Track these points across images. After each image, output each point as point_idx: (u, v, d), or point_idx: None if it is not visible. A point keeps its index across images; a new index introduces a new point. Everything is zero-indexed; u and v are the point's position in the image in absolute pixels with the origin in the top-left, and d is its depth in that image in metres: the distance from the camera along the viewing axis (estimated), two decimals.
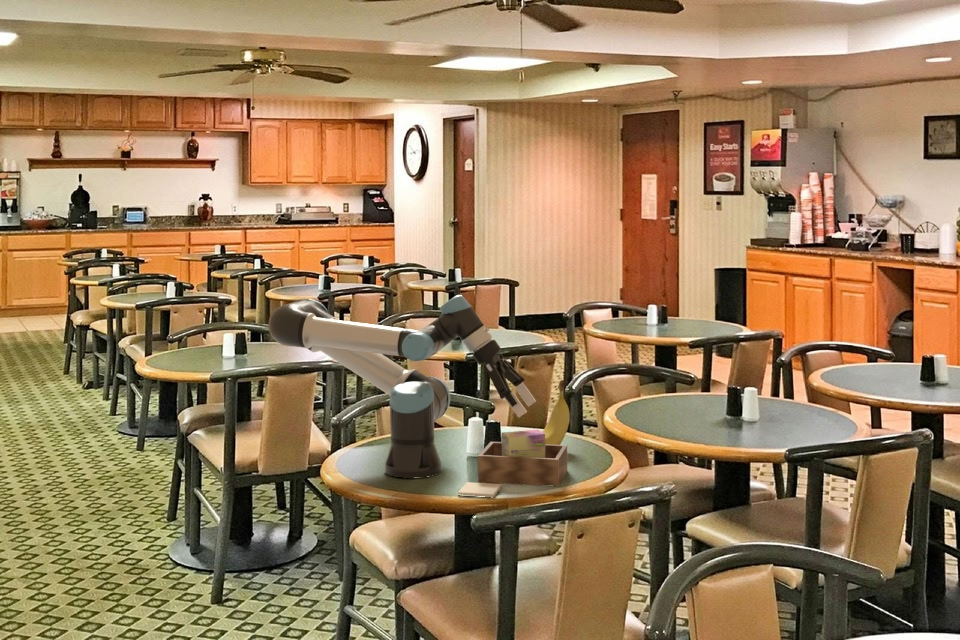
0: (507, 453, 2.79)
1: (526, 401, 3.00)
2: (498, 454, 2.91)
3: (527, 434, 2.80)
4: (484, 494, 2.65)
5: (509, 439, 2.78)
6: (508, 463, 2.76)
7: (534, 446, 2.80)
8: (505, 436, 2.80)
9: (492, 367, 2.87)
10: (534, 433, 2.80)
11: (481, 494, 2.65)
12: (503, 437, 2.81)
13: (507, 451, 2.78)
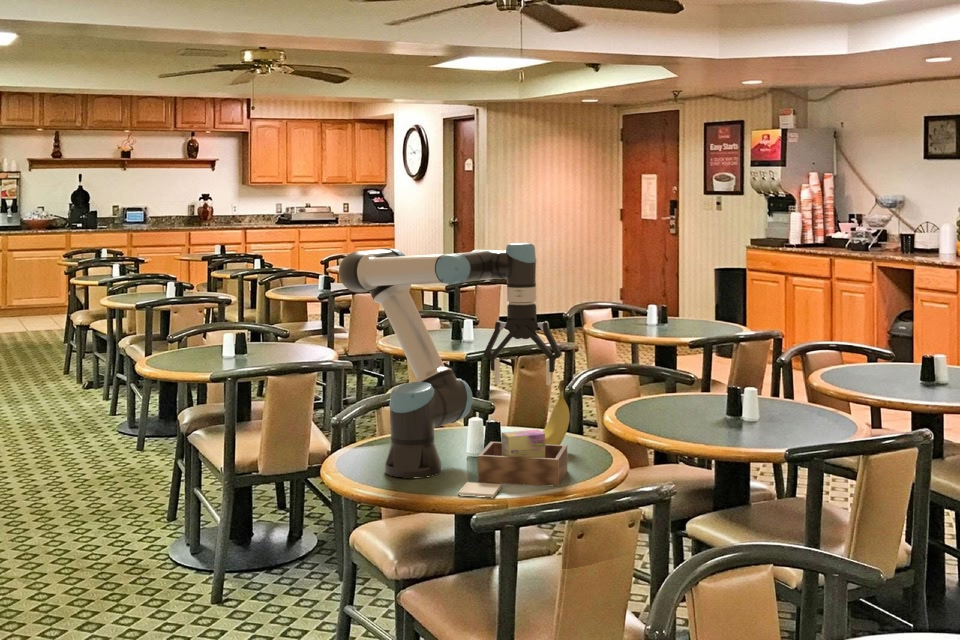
0: (507, 453, 2.79)
1: None
2: (498, 454, 2.91)
3: (527, 434, 2.80)
4: (484, 494, 2.65)
5: (509, 439, 2.78)
6: (508, 463, 2.76)
7: (534, 446, 2.80)
8: (505, 436, 2.80)
9: None
10: (534, 433, 2.80)
11: (481, 494, 2.65)
12: (503, 437, 2.81)
13: (507, 451, 2.78)
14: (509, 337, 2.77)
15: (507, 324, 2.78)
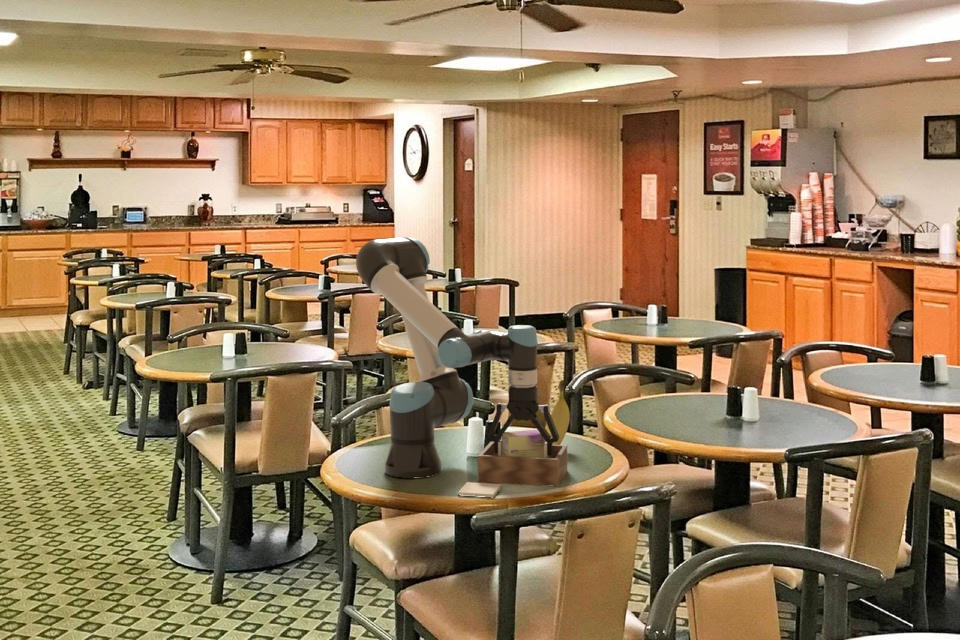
0: (507, 453, 2.79)
1: None
2: None
3: (527, 434, 2.80)
4: (484, 494, 2.65)
5: (509, 439, 2.78)
6: (508, 463, 2.76)
7: (534, 445, 2.80)
8: (505, 436, 2.80)
9: None
10: (534, 433, 2.80)
11: (481, 494, 2.65)
12: (503, 437, 2.81)
13: (507, 451, 2.78)
14: (511, 419, 2.80)
15: (508, 406, 2.80)
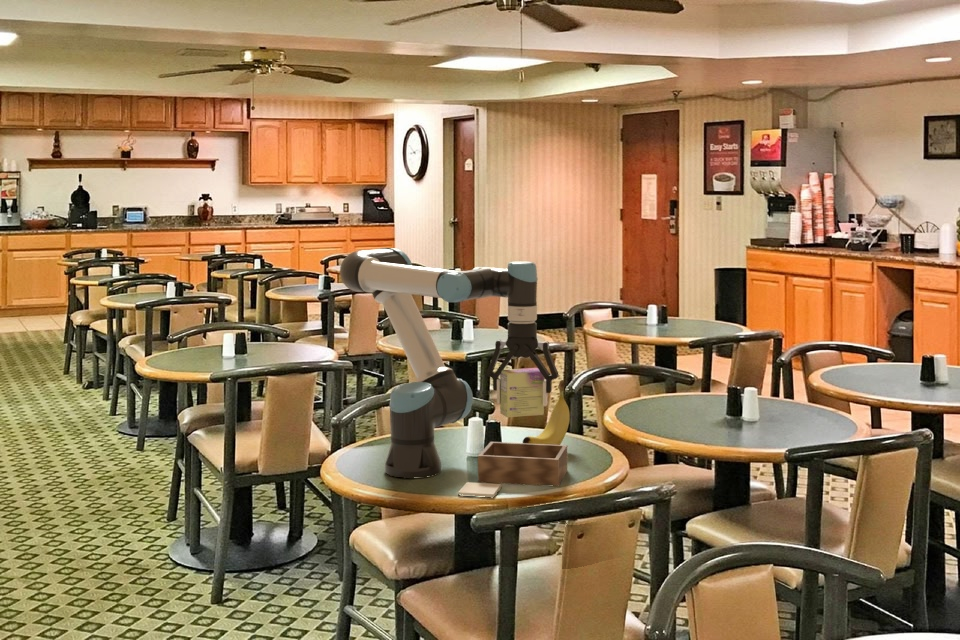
0: (506, 390, 2.77)
1: None
2: (498, 454, 2.91)
3: (526, 371, 2.78)
4: (484, 494, 2.65)
5: (508, 375, 2.75)
6: (508, 463, 2.76)
7: (533, 383, 2.78)
8: (504, 373, 2.78)
9: None
10: (533, 371, 2.78)
11: (481, 494, 2.65)
12: (502, 374, 2.79)
13: (506, 388, 2.76)
14: (510, 356, 2.78)
15: (507, 342, 2.78)
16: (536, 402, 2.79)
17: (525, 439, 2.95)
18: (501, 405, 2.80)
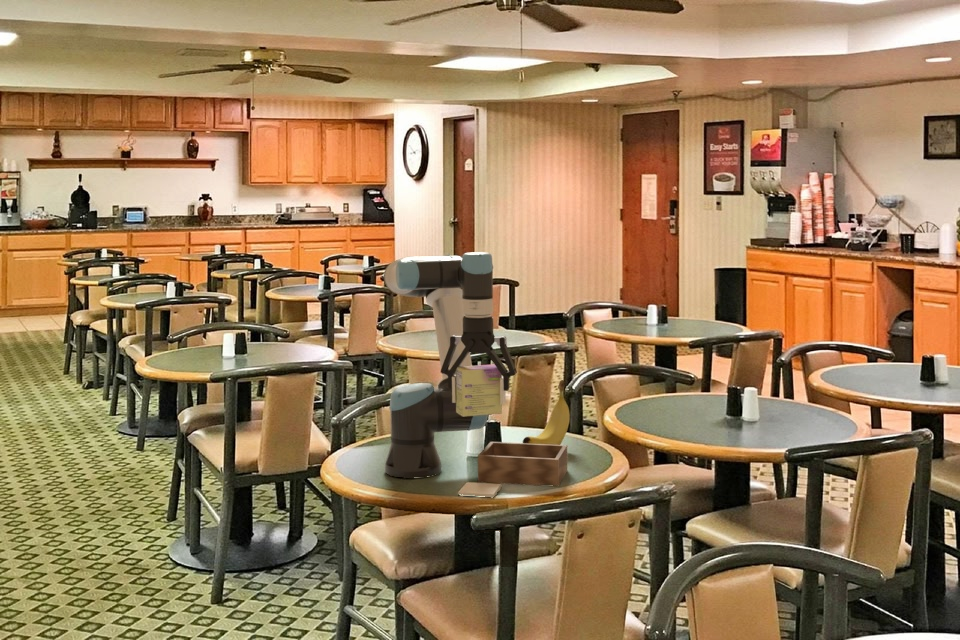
0: (461, 387, 2.62)
1: None
2: (498, 454, 2.91)
3: (482, 368, 2.64)
4: (484, 494, 2.65)
5: (463, 372, 2.61)
6: (508, 463, 2.76)
7: (490, 380, 2.64)
8: (459, 370, 2.63)
9: None
10: (490, 367, 2.64)
11: (481, 494, 2.65)
12: (457, 371, 2.65)
13: (461, 385, 2.62)
14: (465, 352, 2.64)
15: (462, 338, 2.64)
16: (493, 400, 2.65)
17: (525, 439, 2.95)
18: (457, 404, 2.66)
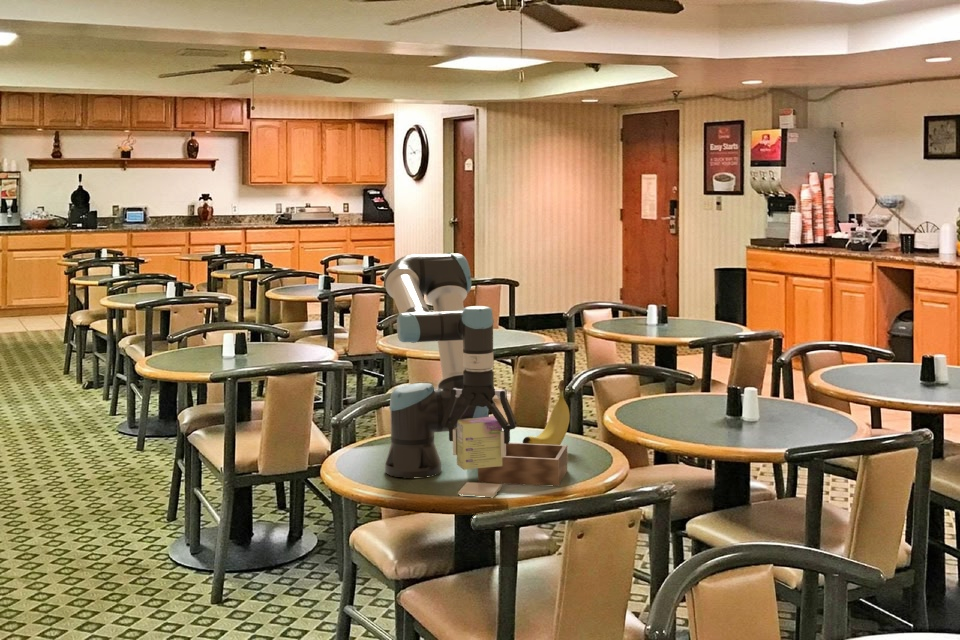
0: (461, 441, 2.64)
1: None
2: None
3: (483, 421, 2.65)
4: (484, 494, 2.65)
5: (463, 426, 2.63)
6: (508, 463, 2.76)
7: (491, 433, 2.65)
8: (460, 423, 2.65)
9: None
10: (490, 420, 2.66)
11: (481, 494, 2.65)
12: (458, 424, 2.67)
13: (462, 438, 2.64)
14: (466, 405, 2.65)
15: (463, 391, 2.66)
16: (494, 453, 2.66)
17: (525, 439, 2.95)
18: (457, 456, 2.68)
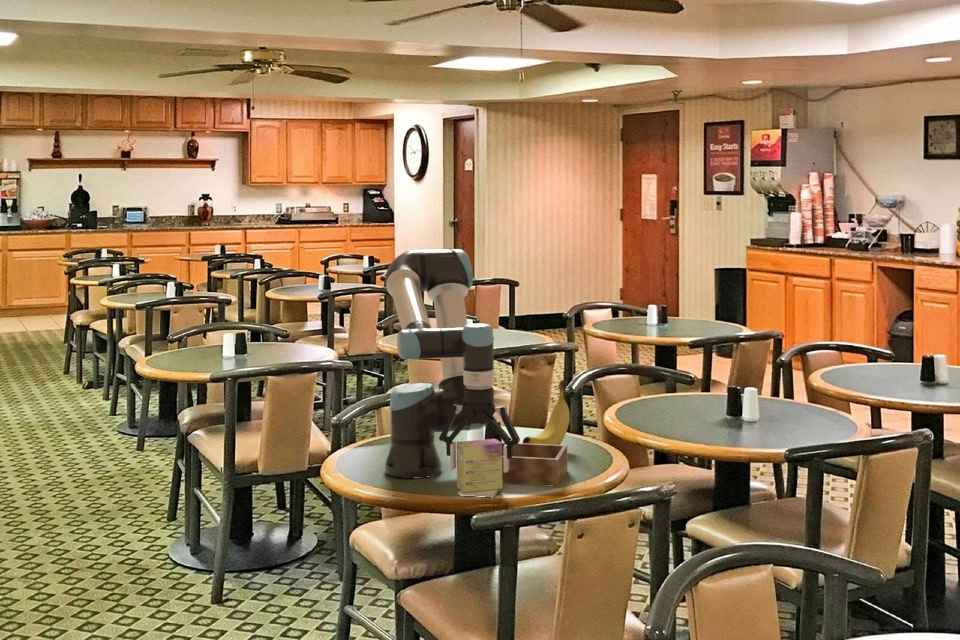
0: (462, 464, 2.65)
1: None
2: None
3: (483, 444, 2.66)
4: (484, 494, 2.65)
5: (464, 449, 2.64)
6: None
7: (491, 456, 2.66)
8: (460, 446, 2.66)
9: None
10: (491, 443, 2.67)
11: (481, 494, 2.65)
12: (458, 447, 2.68)
13: (462, 461, 2.65)
14: (465, 422, 2.66)
15: (463, 408, 2.66)
16: (494, 476, 2.67)
17: (525, 439, 2.95)
18: (458, 479, 2.69)
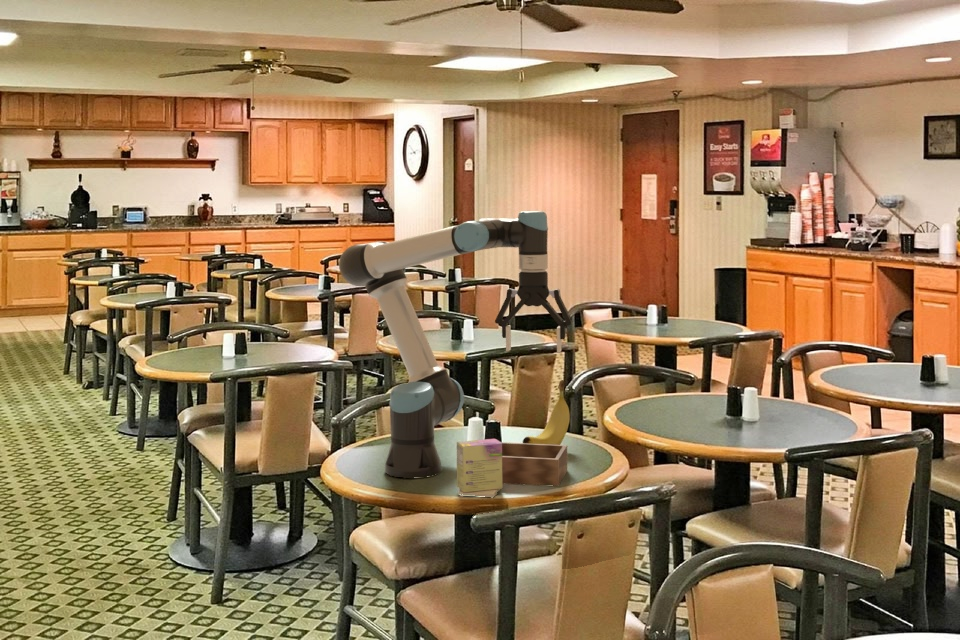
0: (462, 464, 2.65)
1: None
2: None
3: (483, 444, 2.66)
4: (484, 494, 2.65)
5: (464, 449, 2.64)
6: (508, 463, 2.76)
7: (491, 456, 2.66)
8: (460, 446, 2.66)
9: None
10: (491, 443, 2.67)
11: (481, 494, 2.65)
12: (458, 447, 2.68)
13: (462, 461, 2.65)
14: (520, 304, 2.80)
15: (519, 291, 2.81)
16: (494, 476, 2.67)
17: (525, 439, 2.95)
18: (458, 479, 2.69)
